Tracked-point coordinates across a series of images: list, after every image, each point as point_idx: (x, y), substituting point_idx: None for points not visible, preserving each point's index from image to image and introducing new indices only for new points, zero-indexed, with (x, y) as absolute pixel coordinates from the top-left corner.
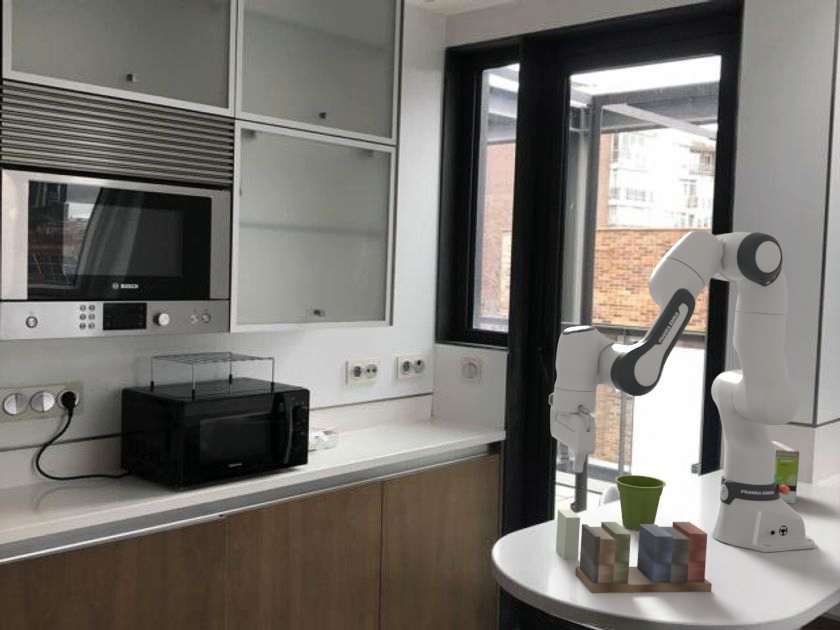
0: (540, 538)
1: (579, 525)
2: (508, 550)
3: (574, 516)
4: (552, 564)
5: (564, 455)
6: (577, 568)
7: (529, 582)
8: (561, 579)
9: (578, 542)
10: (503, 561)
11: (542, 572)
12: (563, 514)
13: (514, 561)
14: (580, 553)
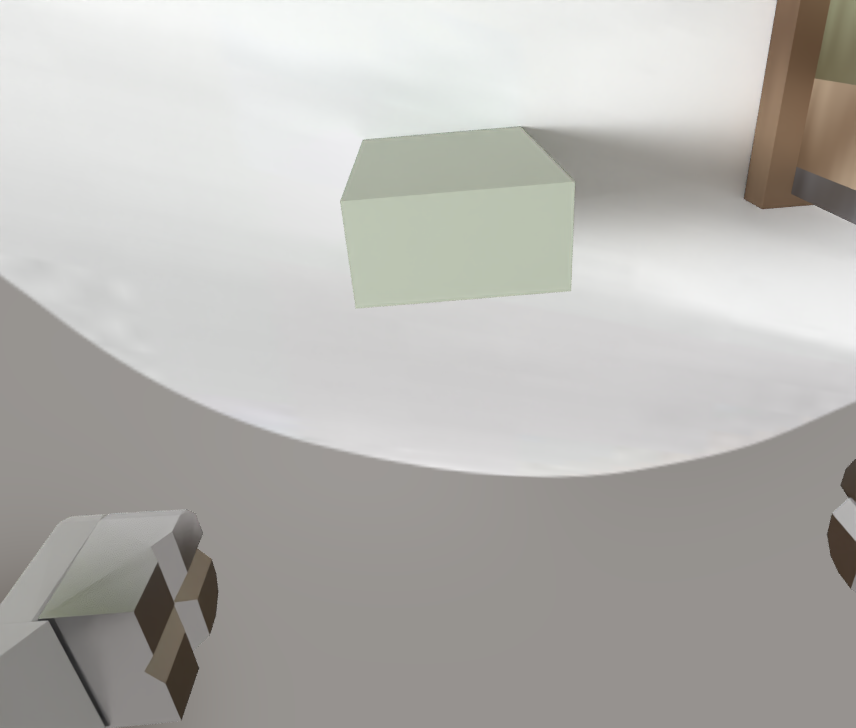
0: (173, 259)
1: (562, 169)
2: (396, 430)
3: (543, 221)
4: (590, 278)
5: (165, 658)
6: (786, 204)
7: (792, 408)
8: (791, 278)
9: (538, 145)
10: (540, 464)
11: (689, 341)
12: (491, 295)
13: (542, 426)
14: (842, 217)
